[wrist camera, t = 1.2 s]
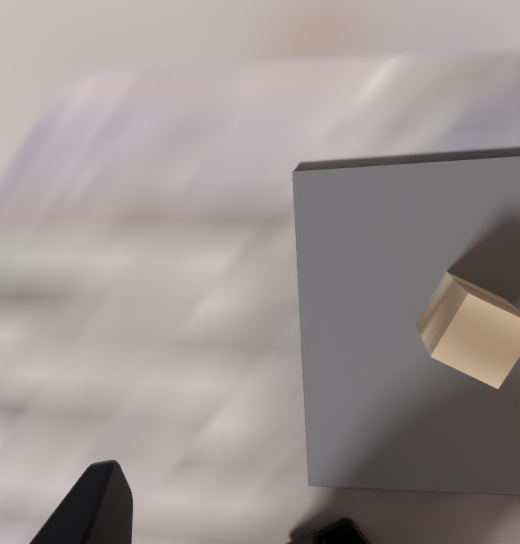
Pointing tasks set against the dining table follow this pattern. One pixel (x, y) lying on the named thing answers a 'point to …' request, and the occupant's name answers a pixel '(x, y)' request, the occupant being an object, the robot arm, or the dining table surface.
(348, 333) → the mat
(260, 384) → the dining table surface
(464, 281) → the beige wooden cube
